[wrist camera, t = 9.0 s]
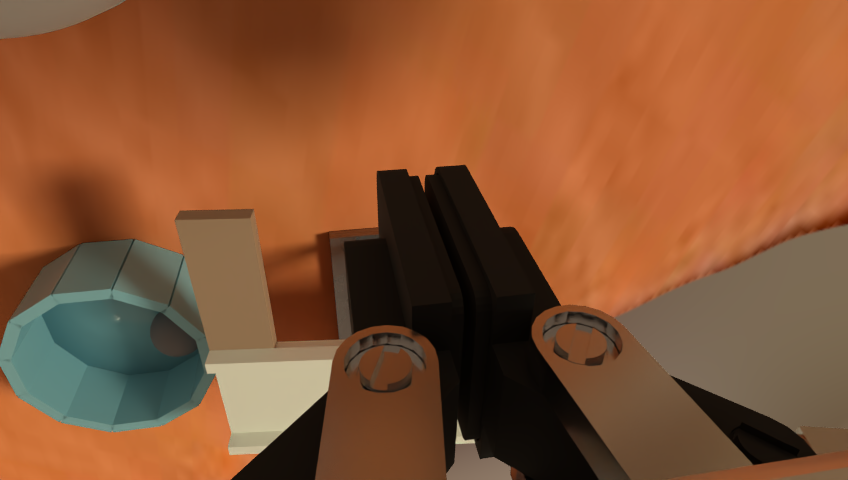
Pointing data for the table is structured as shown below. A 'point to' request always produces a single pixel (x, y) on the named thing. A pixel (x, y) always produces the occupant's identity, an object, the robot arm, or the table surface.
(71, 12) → the kettle
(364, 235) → the lever stand
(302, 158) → the table surface
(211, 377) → the teal round bowl
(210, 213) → the lever
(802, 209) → the table surface
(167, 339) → the ball
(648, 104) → the table surface
